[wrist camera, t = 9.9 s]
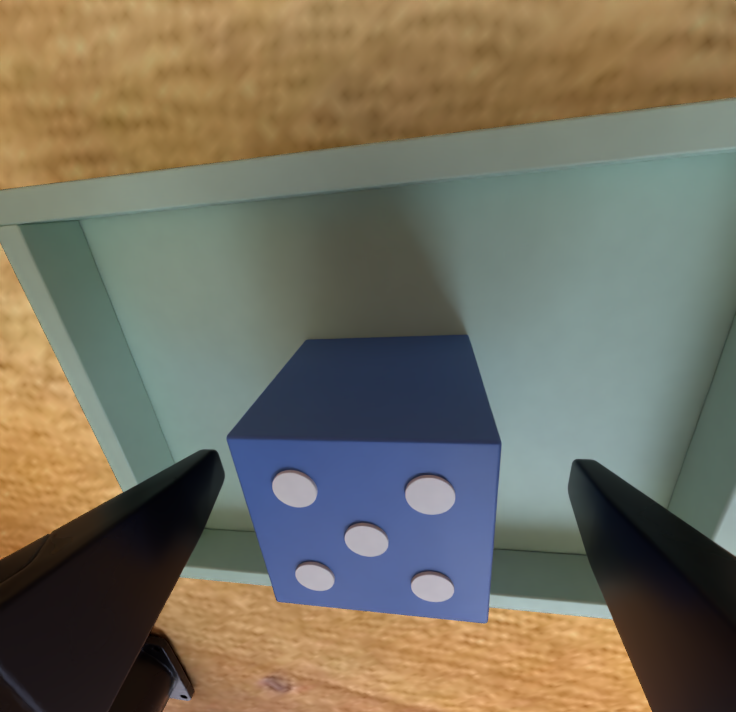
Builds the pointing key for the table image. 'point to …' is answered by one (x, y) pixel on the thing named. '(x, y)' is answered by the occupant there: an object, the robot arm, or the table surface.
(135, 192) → the tray
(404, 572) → the die
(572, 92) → the table surface
